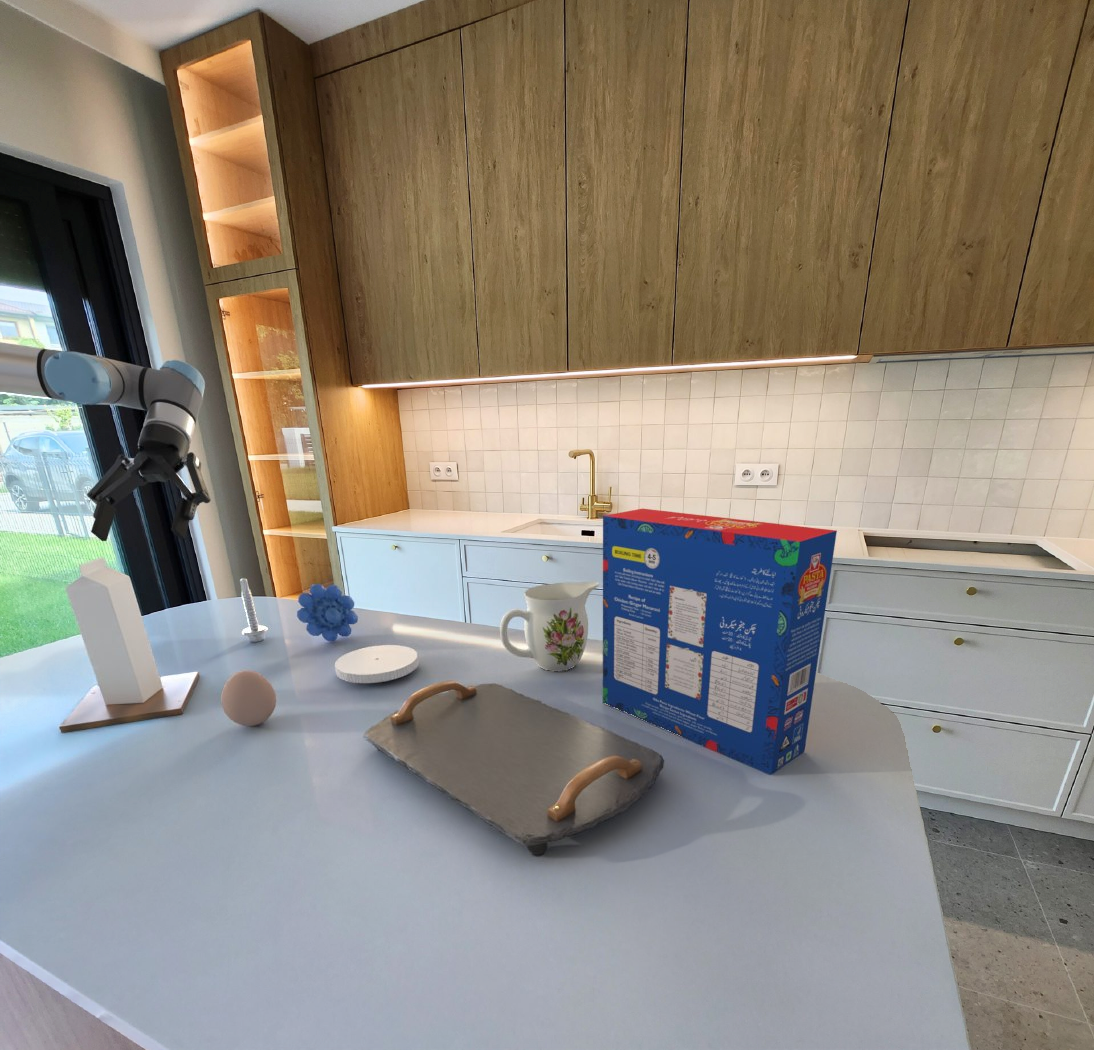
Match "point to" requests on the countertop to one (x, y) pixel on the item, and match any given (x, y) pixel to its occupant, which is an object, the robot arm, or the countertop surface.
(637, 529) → the pasta box
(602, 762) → the serving tray
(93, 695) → the board
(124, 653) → the milk
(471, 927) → the countertop surface
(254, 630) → the screw
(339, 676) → the plastic lid
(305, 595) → the blue flower
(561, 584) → the pitcher
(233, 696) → the egg
